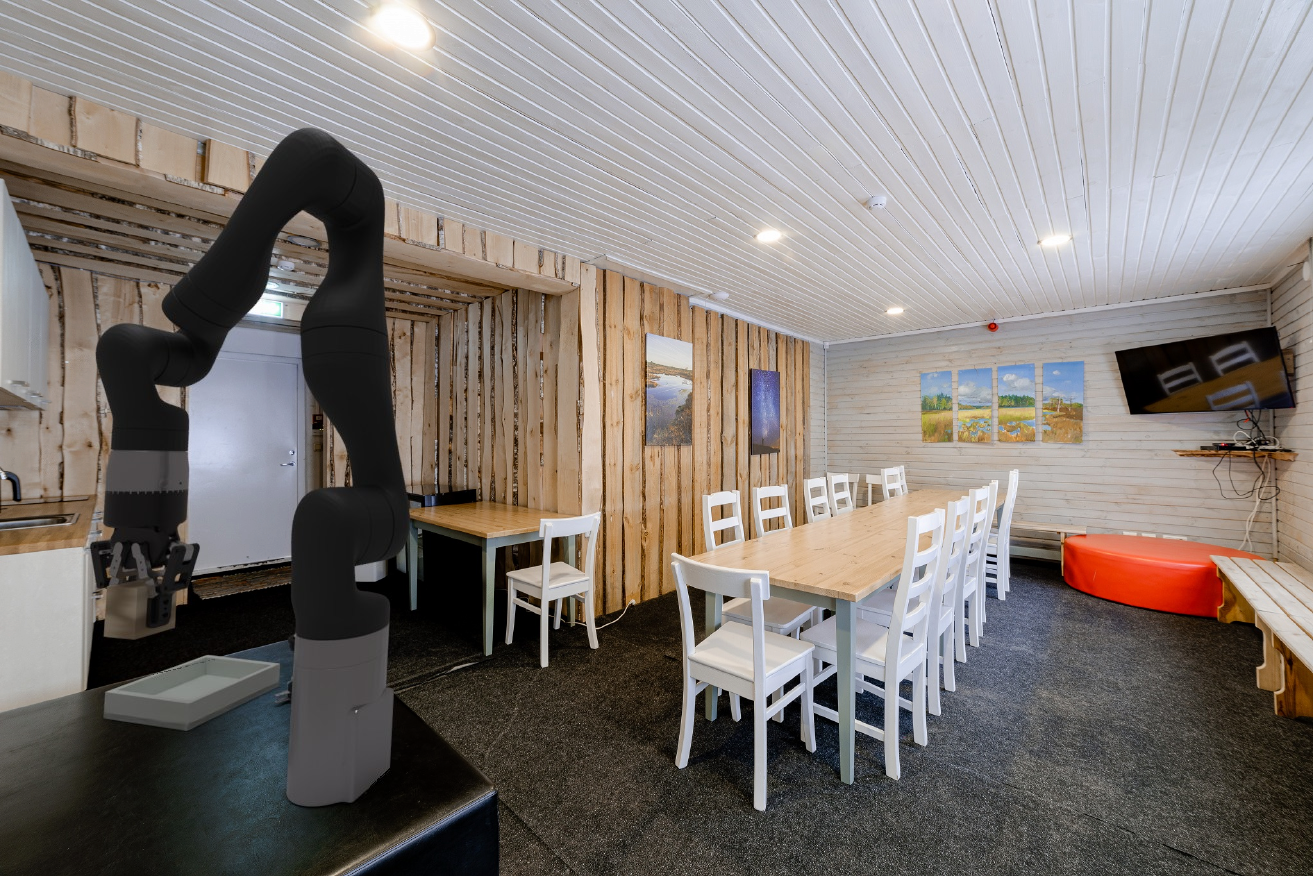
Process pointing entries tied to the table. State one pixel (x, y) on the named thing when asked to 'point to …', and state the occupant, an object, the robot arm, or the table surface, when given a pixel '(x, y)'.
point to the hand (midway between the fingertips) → (140, 624)
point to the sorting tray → (191, 692)
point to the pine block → (131, 611)
